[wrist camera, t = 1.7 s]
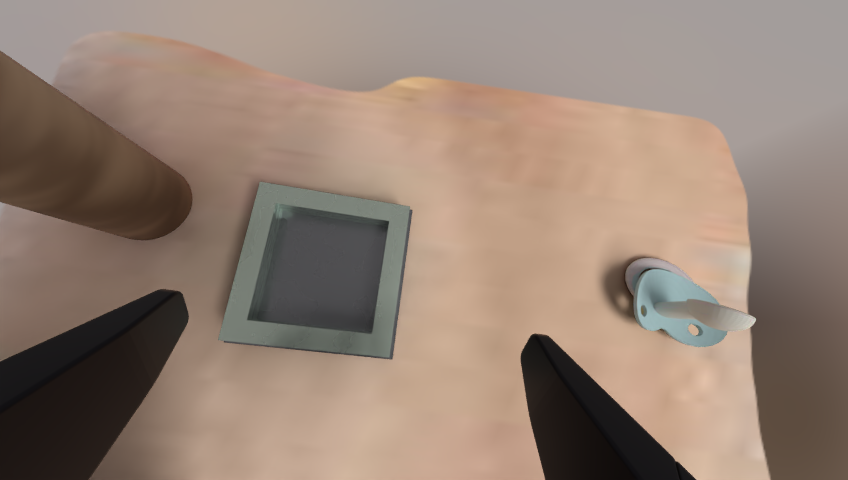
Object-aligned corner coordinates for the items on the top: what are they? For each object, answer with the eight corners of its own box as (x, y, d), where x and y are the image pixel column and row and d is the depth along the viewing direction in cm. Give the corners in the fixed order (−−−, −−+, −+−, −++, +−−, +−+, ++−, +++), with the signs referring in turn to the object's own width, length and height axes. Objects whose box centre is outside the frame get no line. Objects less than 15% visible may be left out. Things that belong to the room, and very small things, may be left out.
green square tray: (391, 358, 20) (393, 363, 18) (227, 341, 18) (210, 345, 17) (411, 212, 22) (415, 203, 20) (267, 188, 21) (256, 176, 19)
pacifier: (618, 247, 25) (608, 320, 23) (698, 224, 19) (692, 321, 17) (697, 277, 25) (693, 351, 23) (799, 265, 19) (804, 363, 17)
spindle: (137, 256, 19) (-245, 173, 7) (84, 199, 19) (-370, 28, 7) (209, 204, 20) (-16, 63, 8) (158, 151, 20) (-128, -58, 9)
